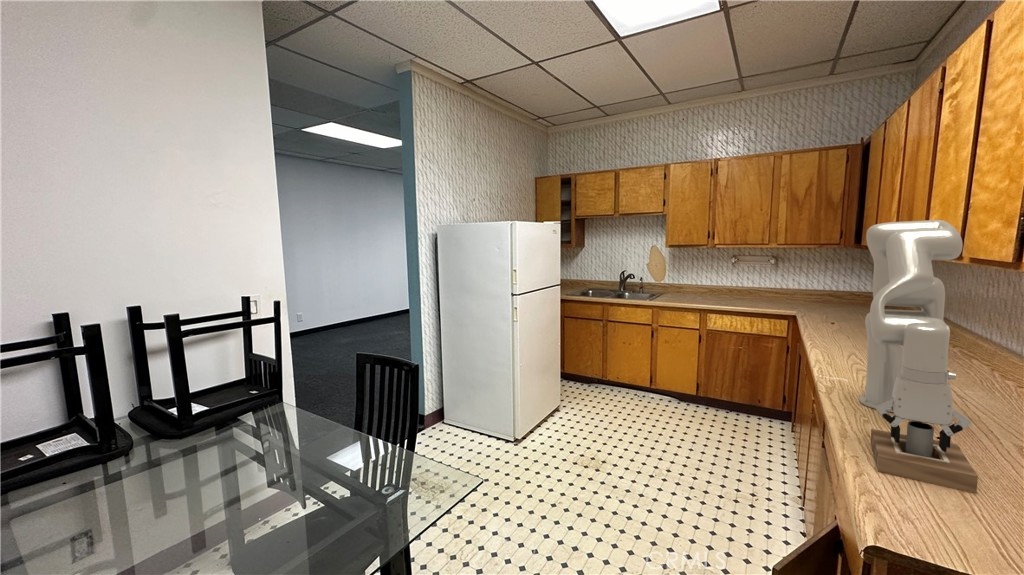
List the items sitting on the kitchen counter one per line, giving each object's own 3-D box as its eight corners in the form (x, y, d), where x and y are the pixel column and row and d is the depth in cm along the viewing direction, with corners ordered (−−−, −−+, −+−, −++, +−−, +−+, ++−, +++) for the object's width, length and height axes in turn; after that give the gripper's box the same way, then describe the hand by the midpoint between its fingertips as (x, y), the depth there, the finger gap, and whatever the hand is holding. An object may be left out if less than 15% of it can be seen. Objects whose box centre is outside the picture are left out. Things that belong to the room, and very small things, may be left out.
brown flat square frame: (870, 442, 110) (871, 428, 109) (956, 459, 100) (957, 443, 100) (877, 471, 97) (878, 455, 97) (976, 493, 88) (977, 475, 87)
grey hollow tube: (903, 457, 102) (906, 419, 101) (929, 463, 99) (932, 423, 98) (905, 466, 98) (908, 426, 97) (932, 472, 96) (935, 431, 94)
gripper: (972, 375, 94) (966, 447, 96) (872, 365, 104) (869, 430, 106) (983, 386, 88) (976, 462, 90) (876, 374, 98) (872, 442, 100)
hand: (918, 444), depth 98 cm, fingers open, 7 cm apart
